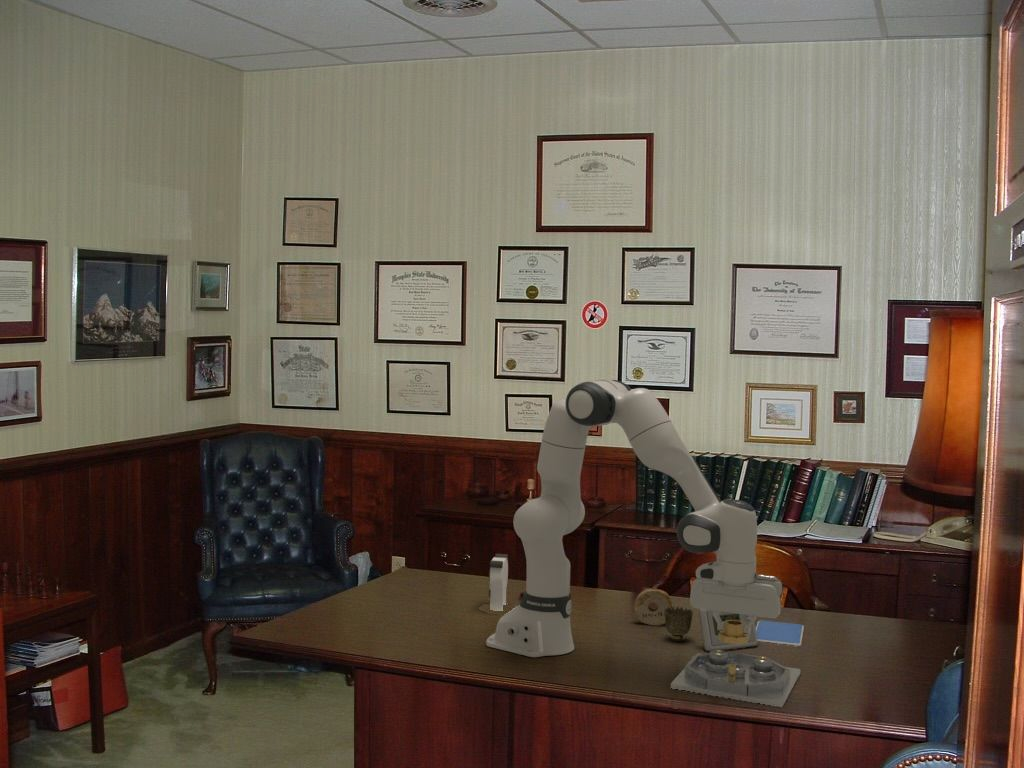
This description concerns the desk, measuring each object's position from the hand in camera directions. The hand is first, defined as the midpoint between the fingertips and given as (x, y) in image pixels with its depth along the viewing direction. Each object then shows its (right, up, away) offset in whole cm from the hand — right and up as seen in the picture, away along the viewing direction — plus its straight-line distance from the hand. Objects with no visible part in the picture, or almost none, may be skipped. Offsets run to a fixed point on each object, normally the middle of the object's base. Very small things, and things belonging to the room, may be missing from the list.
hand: (733, 631), depth 238 cm
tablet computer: (+22, -12, +46) cm, 52 cm away
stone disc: (-11, -10, +52) cm, 54 cm away
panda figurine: (-54, -9, +63) cm, 84 cm away
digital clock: (+5, -12, +33) cm, 35 cm away
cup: (-7, -11, +38) cm, 40 cm away
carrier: (+2, -13, +6) cm, 15 cm away
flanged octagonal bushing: (0, -2, 0) cm, 2 cm away
